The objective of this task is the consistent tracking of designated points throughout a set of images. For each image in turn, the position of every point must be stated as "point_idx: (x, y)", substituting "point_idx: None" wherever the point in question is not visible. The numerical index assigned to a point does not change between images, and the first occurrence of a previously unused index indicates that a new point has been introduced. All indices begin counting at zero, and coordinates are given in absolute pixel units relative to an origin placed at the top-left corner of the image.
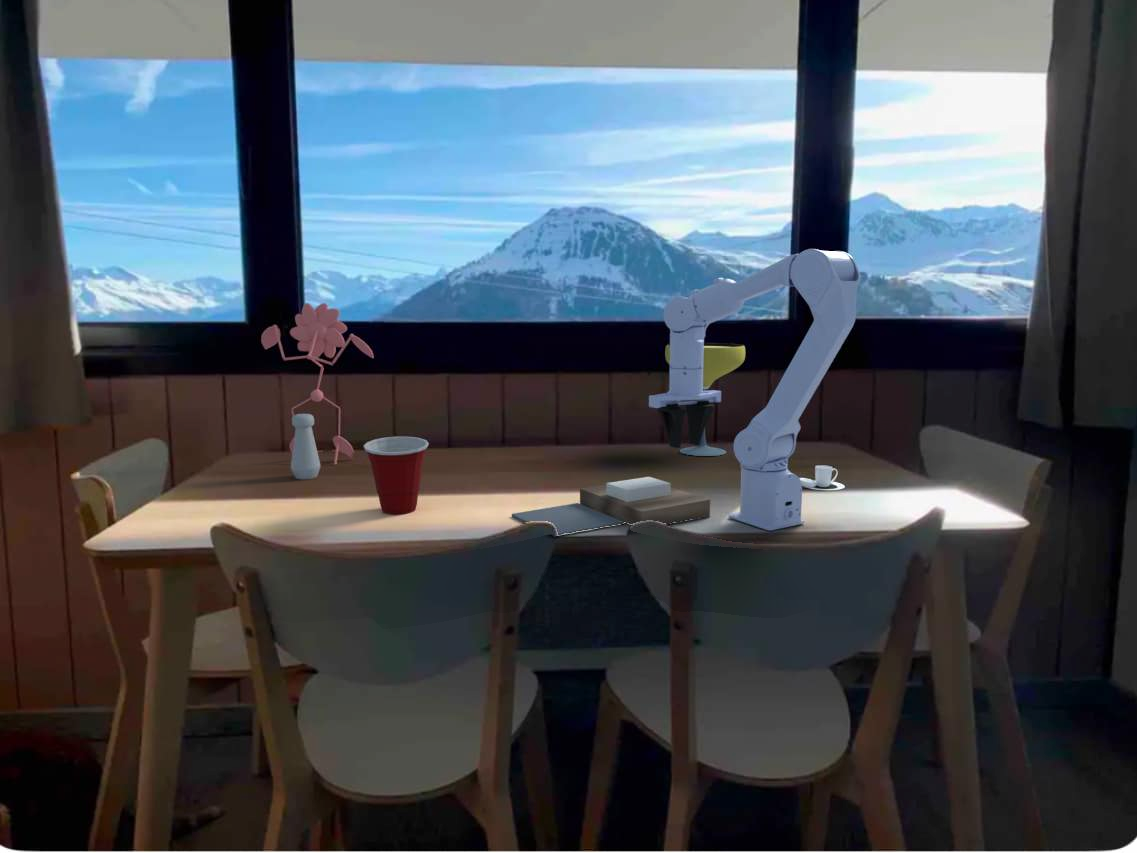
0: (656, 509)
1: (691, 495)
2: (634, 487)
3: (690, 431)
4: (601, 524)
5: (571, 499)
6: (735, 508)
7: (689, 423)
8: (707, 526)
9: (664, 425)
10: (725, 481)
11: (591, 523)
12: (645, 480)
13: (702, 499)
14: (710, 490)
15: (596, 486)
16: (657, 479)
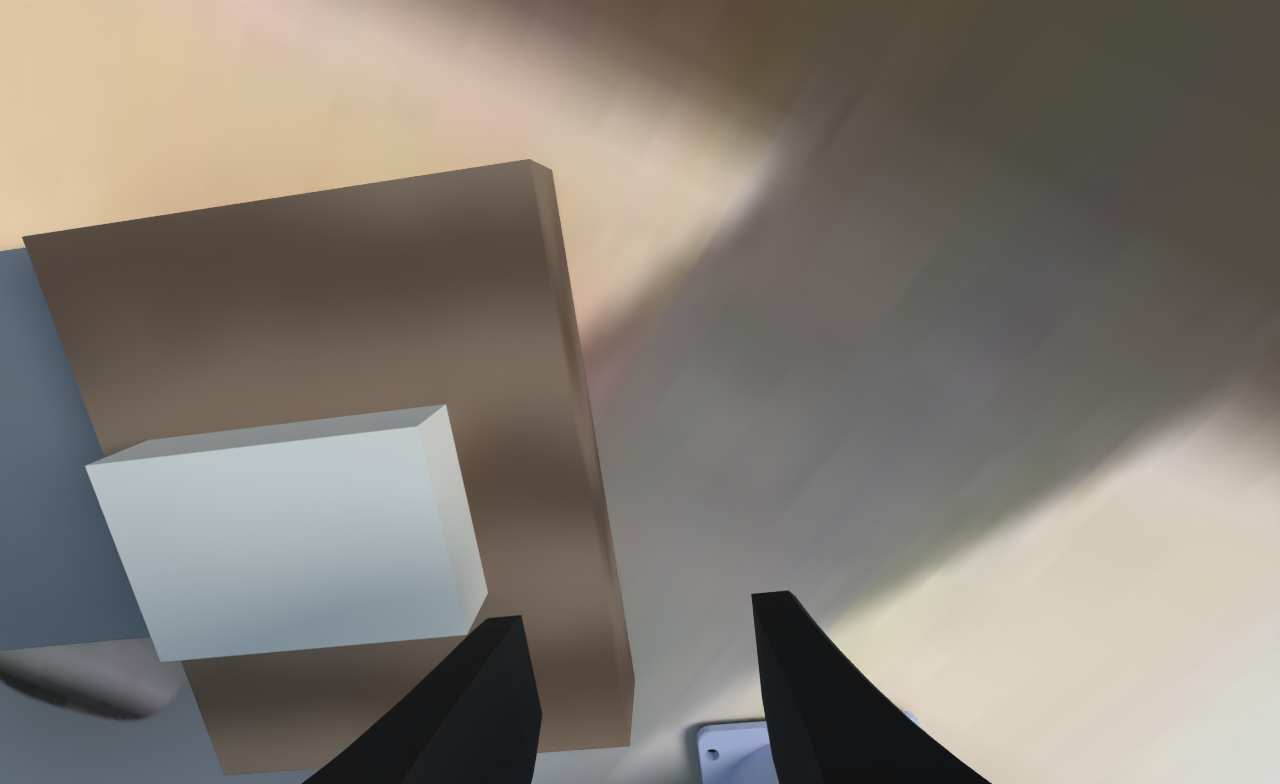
0: (303, 769)
1: (586, 649)
2: (220, 628)
3: (780, 696)
4: (119, 624)
5: (99, 76)
6: (838, 617)
7: (809, 756)
8: (550, 770)
9: (309, 779)
10: (1277, 58)
11: (81, 595)
12: (350, 509)
13: (593, 732)
14: (990, 247)
15: (138, 228)
16: (436, 518)
